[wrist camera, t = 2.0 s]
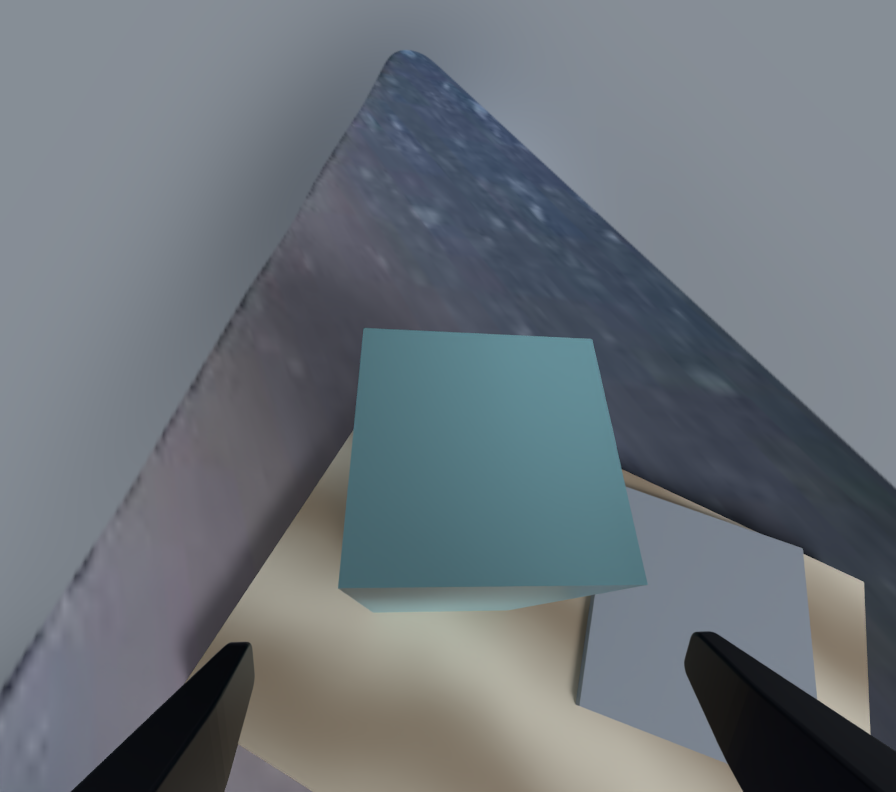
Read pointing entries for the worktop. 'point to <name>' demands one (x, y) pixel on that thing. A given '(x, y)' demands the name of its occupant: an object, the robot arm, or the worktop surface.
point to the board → (468, 680)
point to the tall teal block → (483, 476)
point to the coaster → (692, 619)
